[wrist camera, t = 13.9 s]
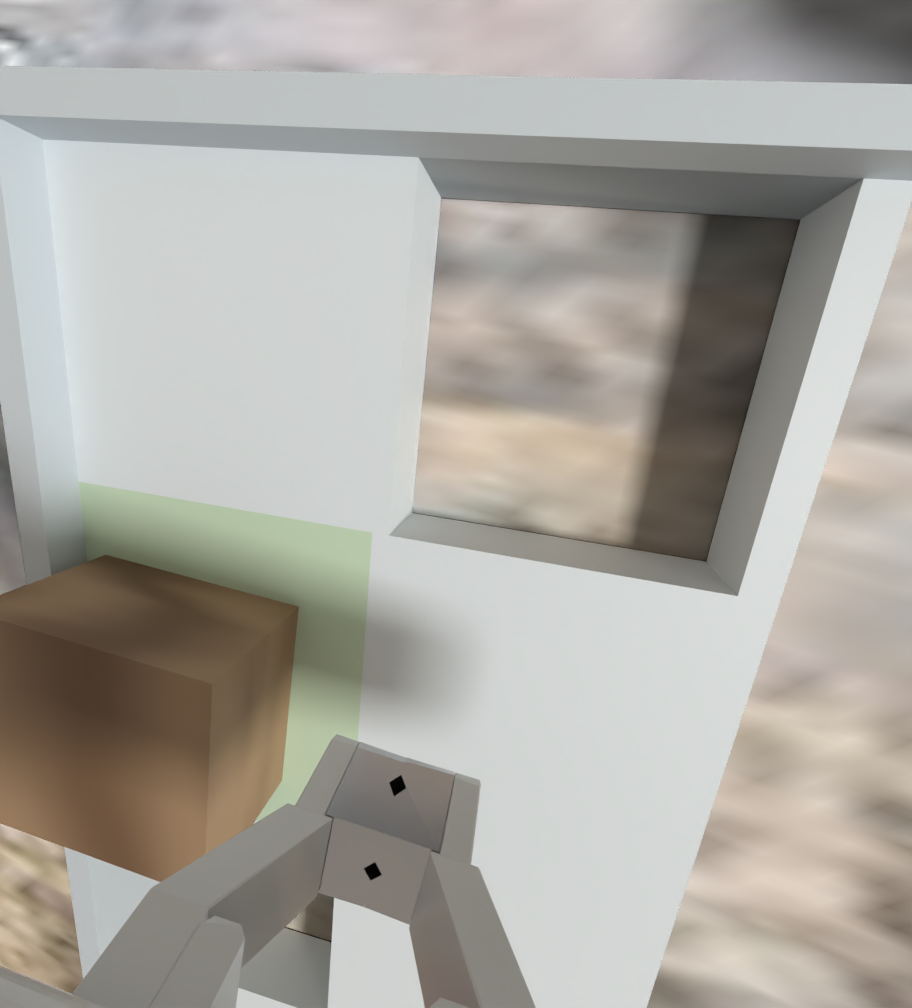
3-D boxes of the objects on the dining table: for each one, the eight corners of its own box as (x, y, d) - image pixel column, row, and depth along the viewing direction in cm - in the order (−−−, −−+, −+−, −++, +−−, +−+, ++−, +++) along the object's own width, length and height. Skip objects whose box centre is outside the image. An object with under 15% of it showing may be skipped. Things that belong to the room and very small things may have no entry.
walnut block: (111, 725, 18) (-10, 819, 14) (105, 554, 16) (-37, 609, 12) (281, 780, 17) (203, 898, 13) (298, 606, 15) (212, 683, 11)
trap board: (155, 915, 24) (87, 1006, 20) (93, 141, 15) (-48, 65, 11) (594, 1058, 21) (604, 1197, 17) (856, 176, 12) (993, 86, 8)
